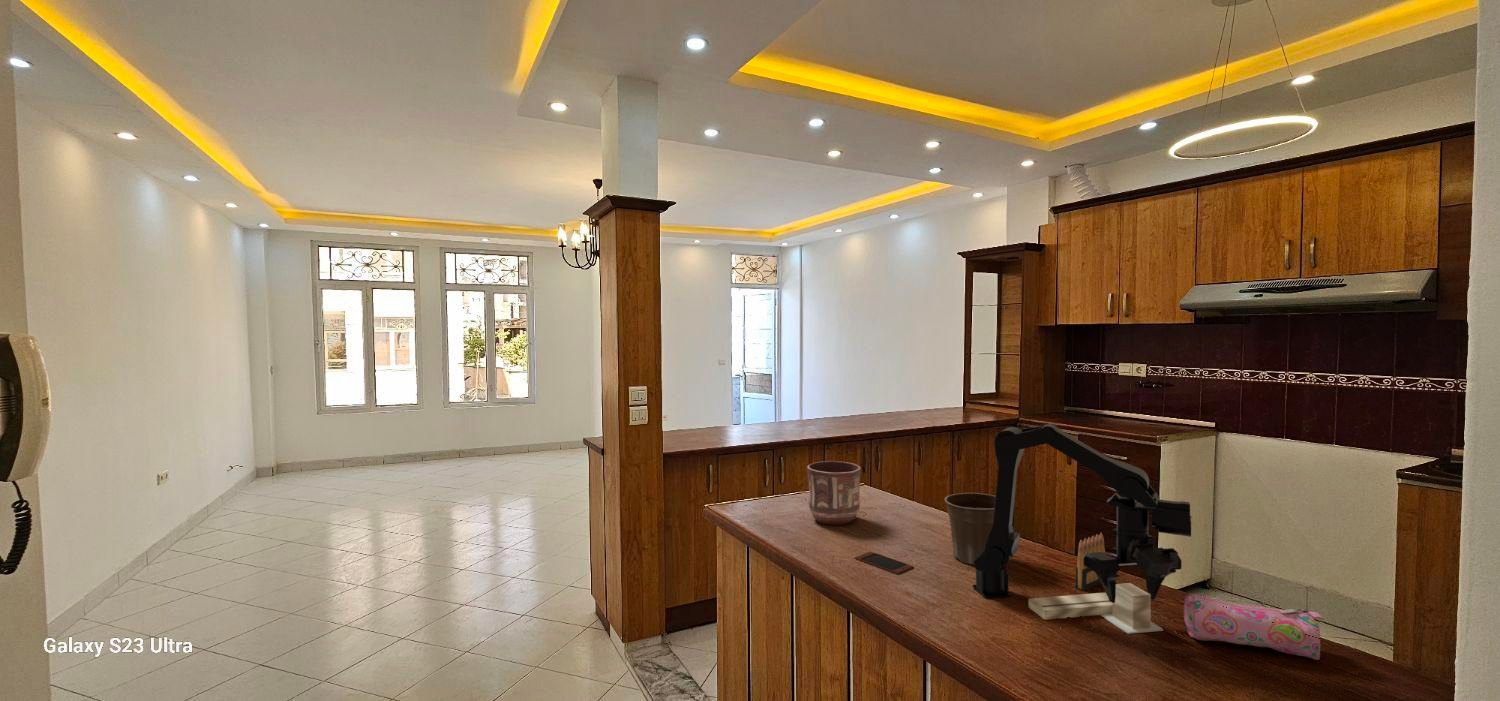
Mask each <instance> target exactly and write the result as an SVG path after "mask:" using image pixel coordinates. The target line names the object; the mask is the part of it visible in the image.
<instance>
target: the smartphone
mask: <svg viewBox="0 0 1500 701" xmlns="http://www.w3.org/2000/svg"><path fill="white" fill-rule="evenodd" d="M855 559H856V560H855ZM854 560H855V561H858V560H859V561H858V562H860V563H863V562H864V564H866V563H867V564H866V565H868V566H872V567H874V566H875V568H877V569H881V570H882V571H886V572H889V573H891V574H894V575H896V576H898V575H902V574H904V573H907V572H909V571H910V570H914V569H915V567H914V566H913V565H911V564H909V563H906V562H904V561H901V560H896V559H894V558H891V557H888V556H885V555H883V554H879V553H878V552H877V553H876V552H874V551H868V552H866V553H862V554H860V555H857V556H855V557H854Z"/></svg>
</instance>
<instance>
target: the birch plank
mask: <svg viewBox="0 0 1500 701" xmlns="http://www.w3.org/2000/svg"><path fill="white" fill-rule="evenodd" d="M1028 608H1029V609H1030V610H1031V611H1033V612H1034V613H1035V614H1036V615H1038V616H1039V617H1040V618H1042V619H1043V620H1055V619H1057V618H1058V619H1068V618H1067V617H1070V618H1080V616H1082V617H1090V616H1091V617H1092V616H1101V615H1103V614H1113V603H1112V602H1110V601H1109V598H1108V596H1107V594H1106V592H1095V593H1085V594H1084V593H1083V594H1072V595H1069V594H1067V595H1060V596H1059V595H1057V596H1046V597H1035V598H1034V597H1032V598H1028Z"/></svg>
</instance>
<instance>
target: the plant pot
mask: <svg viewBox="0 0 1500 701" xmlns="http://www.w3.org/2000/svg"><path fill="white" fill-rule="evenodd" d="M995 497H996V495H994V494H988V493H980V492H962V493H961V492H960V493H954V494H949V495H947V496H945V497H944V503H945V504H946V509H947V515H948V517H949V523H950V531H951V532H950V533H951V541H952V542H951V543H952V548H953V557H954V559H956V560H959V562H960V563H964V564H966V565H969V566H970V565H971V566H975V564H974V561H975V560H976V559H977V557H978V556H979V555H980V554H981V553H982V552H983V551H984V548H985V545H986V542H987V538H988V536H989V533H990V531H991V528H992V525H993V518H994V508H995Z"/></svg>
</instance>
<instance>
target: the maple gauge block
mask: <svg viewBox="0 0 1500 701" xmlns="http://www.w3.org/2000/svg"><path fill="white" fill-rule="evenodd" d="M1151 602H1152V599H1151V594H1149V593H1148V591H1145V590H1143V589H1141V588H1140V587H1138V586H1136V585H1134V584H1132V583H1131V582H1126V583H1125V582H1123V583H1116V598H1115V603H1113V617H1115V618H1116V619H1118V620H1120V621H1121V622H1123V623H1124V624H1126V625H1127V626H1129V627H1130V628H1132V629H1141V628H1151V622H1152V620H1151V616H1152V615H1151V614H1152V613H1151V611H1152V610H1151V608H1152V607H1151V605H1152V604H1151Z"/></svg>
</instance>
